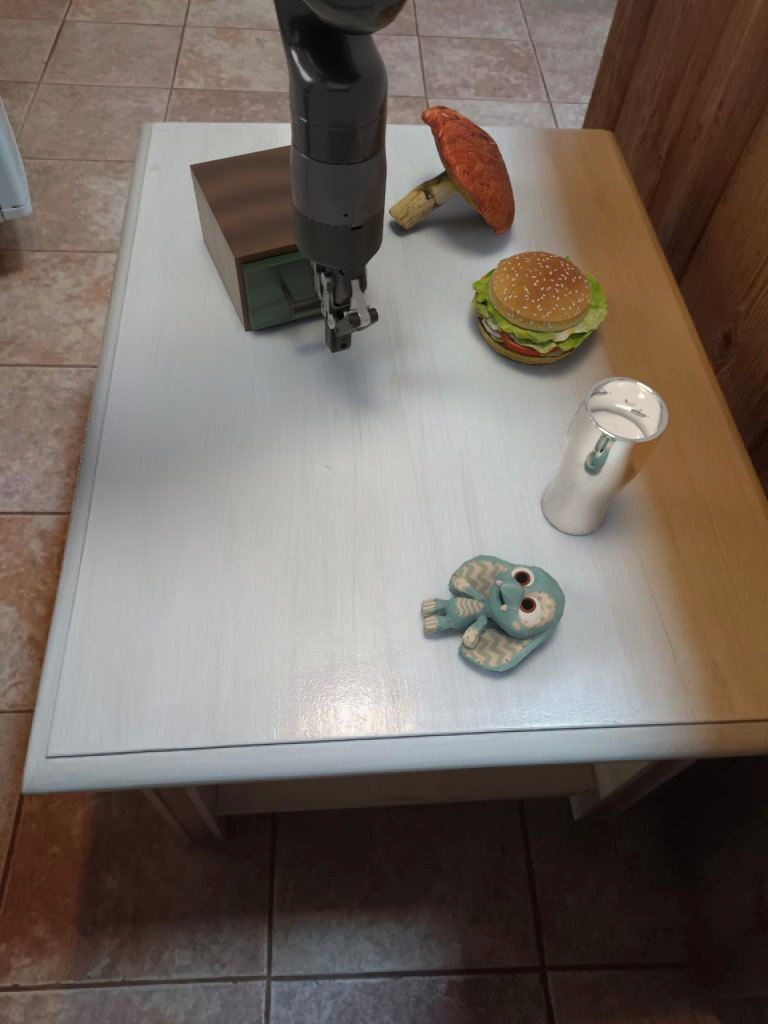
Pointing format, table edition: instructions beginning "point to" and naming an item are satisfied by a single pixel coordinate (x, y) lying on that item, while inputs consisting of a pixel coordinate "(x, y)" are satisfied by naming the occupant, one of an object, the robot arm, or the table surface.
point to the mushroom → (461, 173)
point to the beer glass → (603, 452)
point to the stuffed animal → (498, 610)
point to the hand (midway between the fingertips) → (338, 346)
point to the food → (537, 307)
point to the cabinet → (244, 214)
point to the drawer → (279, 290)
